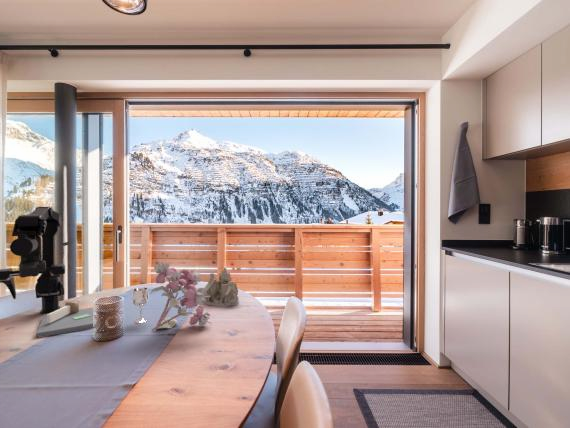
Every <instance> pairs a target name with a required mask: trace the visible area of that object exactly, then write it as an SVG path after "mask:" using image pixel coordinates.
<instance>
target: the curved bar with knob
mask: <svg viewBox="0 0 570 428" xmlns="http://www.w3.org/2000/svg"><path fill="white" fill-rule="evenodd" d="M64 305H65V306H63V307H60V309H58V310H56V311H54V312H48V313H46V314H47V323H52V322H54V321H56V320H58V319H60V318H62V317H63V316H65V315H67V314H74V313H77V312H79V310H80V302H79V300H70V301H66V302H65V304H64Z"/></svg>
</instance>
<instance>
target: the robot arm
mask: <svg viewBox="0 0 570 428" xmlns="http://www.w3.org/2000/svg"><path fill="white" fill-rule="evenodd" d="M62 222H63V221H62V218H61V214H60V213H59V212H57V211H55V210H54V209H53V207H52V206H51V207H50V206H37V207H35V209H34V210H33V211H32V212H31V213H29V214H20V215H18V216H17V218H16V219H15V220H14V225H13V227H12V228H13V229H12V234H11V236H12V237H17V238H16V239H14V240H12V241H11V243H10V245H9V250H10V252H11V253H12V254H13V255H15V256H19V257H20V261H19V264H18V270H13V268H1V269H0V284H4V285H5V286H6V288H7V289H8V290H9V292H10V295H11V296H12V298H13V299H14V300H16V299H17V291H16V285H15V284H16V283H15V277H20V278H26V277H27V278H28V277H37V276H39V277H38V278H37V280H36V283H35V286H34V288H35V298H36V299H40V298H41V309H40V311H39V314H49V313H52V312H54V311H56V310H58V309H60V308H62V307H61V305H60V298H59V297H61V296H64V295H65V288H64V284H63V282H62V280H61V275H64V274H65V273H66V265H65V264H63V263H60V264H59V263H58V264H56V236H57V235H58V234H59V233H60V231H61V227H62Z"/></svg>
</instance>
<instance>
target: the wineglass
mask: <svg viewBox="0 0 570 428" xmlns="http://www.w3.org/2000/svg"><path fill="white" fill-rule="evenodd" d="M149 294H150V292H149V291H148V287H136V288H134V289H133V290H132V295H131V301H132V304H133V305H134V306H135V307H139V309H138V310H139V318H138V319H136V320H134V323H135V324H143V323H146V322H147V321H148V319H147V318H143V317H142V315H143V314H142V311H143V306H145V305H147V304H148V302H149V300H150V295H149Z"/></svg>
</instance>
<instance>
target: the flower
mask: <svg viewBox="0 0 570 428" xmlns="http://www.w3.org/2000/svg"><path fill="white" fill-rule="evenodd" d="M156 262H157V264H154V266H153V270H154V272H155V273H156V274H157V275H156V276H155V284H161V285H160V286H157V287H155V288H153V289H151V292H149V294H150V295H151V294H152V293H154V292H155V293H156V292H159V291H160V290H162V291H164V292H162V294H160V295H161V297H167V301H166V304H165V307H164V309H163V311H162V313H161V315H160V317H159V320H158V321H157V323H156V325H155V327H152V328H151V331H152V332H154V331H157V330H158V329H169V330H170V329H172V328H174V327H175V326H176V324H177V323H178V320H177V319H175V318H177V317H179V316H180V317H181V316H183V317H185V316H187V315H188V314H191V315H193V316H192V317H190V320H189V321H188V323H189V325H190V326H194V325H196V324H197V323H198V326H199V327H202V328H204V327H205V326H207V325H206V324H208V323H209V324H212V322H210V321H209V319H210V316H211V314H210V313H209V312H204V307H202V306H201V305H205V304H204V303H203V302H202V301H206V300H204V299H205V297H210V296H204V295H205V293H206V291H205V290H204V289H205V287H198V289H197V287H196V285H199V283H200V282H201V281H202V277H201V276H202V274H201V272H200V271H199V272H197V271H195V270H196V269H195V268H193V269H192V270H190V271H189V269H186V268H184V269H181V270H179V271H178V270H177V269H176V268H175V267H170V263H169V262H167V260H165V261H163V260H162V261H161V263H160V262H158V259H156ZM166 281H168V283H167V284H166V285H165V286H164V285H162V284H165V283H166ZM180 291H181V292H182V293H183V296H181V297H178V295H179V294H178V293H179V292H180ZM175 293H176V294H175ZM174 294H175V295H174ZM177 297H178V298H177ZM203 298H204V299H203ZM198 305H200V306H198ZM196 306H198V307H197V308H196V309H195V311H196V313H193V312H192V311H191V312H190V311H189V312H187V309H192V308H194V307H196ZM172 308H175V309H177V315H174V316H172V317H167V315H168V313H169V312H170V311H171V309H172Z"/></svg>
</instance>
